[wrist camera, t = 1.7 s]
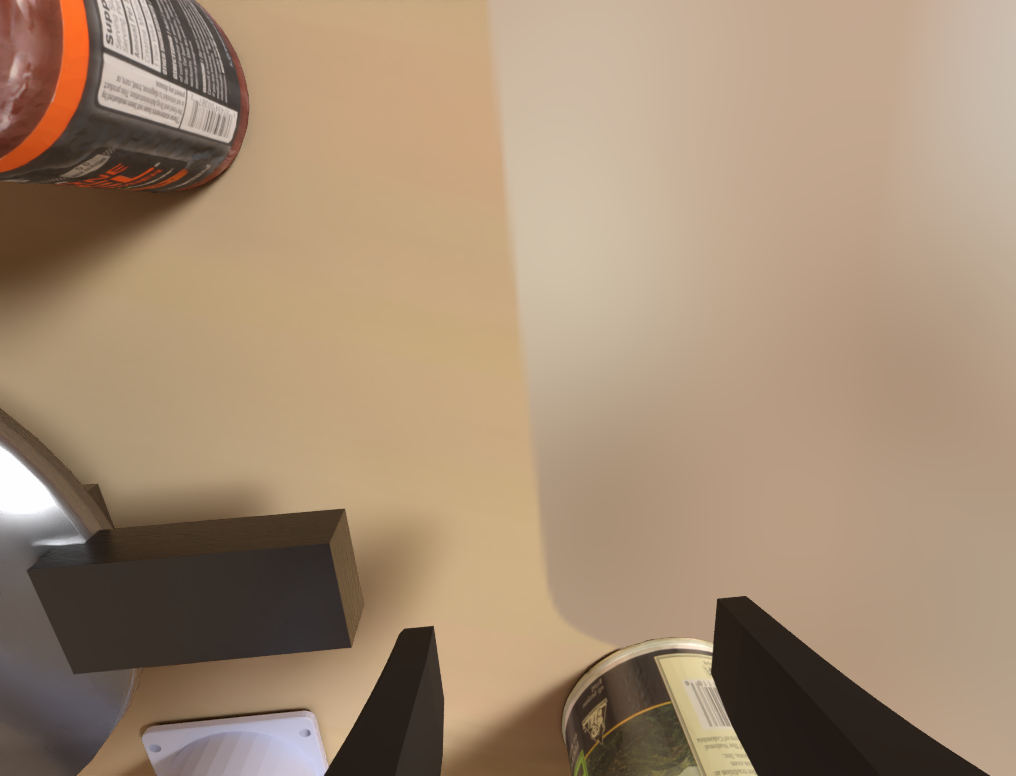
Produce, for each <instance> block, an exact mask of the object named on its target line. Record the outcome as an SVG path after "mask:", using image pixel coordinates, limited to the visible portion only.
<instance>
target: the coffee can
mask: <svg viewBox="0 0 1016 776" xmlns="http://www.w3.org/2000/svg"><path fill="white" fill-rule="evenodd" d="M712 653H713V643H711V642H708V641H704V640H700V639H694V638H684V637H670V638H661V639H651V640H647V641H645V642H642V643H638V644H634V645H631V646H628V647H626V648H624V649H621V650H619V651H616V652H615V653H613V654H611V655H609V656H608V657H606V658H604V659H603V660H602V661H600V662H599V663H597V664H596V665H595V666H594V667H592V668H591V669H590V670H589V671H588V672H587V673H586V674H585V675H583V676H582V678H581V679H580V680H579V681H578V682H577V684H576V686H575V687H574V688H573V690H572V692H571V693H570V695H569V697H568V699H567V702H566V705H565V707H564V712H563V717H562V735H563V738H564V742H565V745H566V747H567V751H568V757H569V763H570V769H571V775H572V776H757V774H756V772H755V770H754V768H753V766H752V764H751V762H750V760H749V758H748V756H747V754H746V753H745V751H744V749H743V747H742V745H741V743H740V741H739V739H738V737H737V735H736V733H735V731H734V729H733V727H732V725H731V723H730V720H729V718H728V715H727V713H726V711H725V708H724V706H723V703H722V701H721V698H720V696H719V693H718V690H717V688H716V685H715V683H714V680H713V677H712V675H711V664H712Z"/></svg>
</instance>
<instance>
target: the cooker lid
mask: <svg viewBox="0 0 1016 776" xmlns="http://www.w3.org/2000/svg"><path fill="white" fill-rule="evenodd" d="M363 606H364V603H363V598H362V593H361V588H360V583H359V578H358V573H357V568H356V562H355V557H354V552H353V547H352V542H351V537H350V532H349V527H348V522H347V516H346V511H345V509H335V510H324V511H312V512H301V513H289V514H278V515H266V516H255V517H243V518H232V519H220V520H209V521H198V522H186V523H175V524H163V525H152V526H140V527H129V528H117V529H113V528H112V527H111V525H110V524H109V522H108V520H107V519H106V517H105V516H104V514H103V512H102V511H101V509H100V508H99V506H98V505H97V503H96V502H95V501H94V500H93V498H92V497H91V496H90V495H89V493H88V492H87V491H86V490H85V488H84V487H83V486H82V485H81V484H80V482H79V481H78V480H77V479H76V477H75V476H74V475H73V474H72V472H71V471H70V470H69V469H68V468H67V467H66V466H65V465H64V464H63V463H62V462H61V461H60V460H59V459H58V458H57V457H56V456H55V455H54V454H53V453H52V452H51V451H50V450H49V449H48V448H47V447H46V446H45V445H44V444H43V443H42V442H41V441H39V440H38V439H37V438H36V437H35V436H34V435H32V434H31V433H30V432H29V431H28V430H26V429H25V428H24V427H23V426H21V425H20V424H19V423H18V422H16V421H15V420H14V419H13V418H11V417H10V416H9V415H8V414H7V413H5V412H4V411H3V410H2V409H0V776H76V775H77V774H78V773H79V772H80V771H81V770H82V769H83V768H84V767H86V766H87V765H88V764H89V763H90V762H91V760H92V759H93V758H94V756H95V755H96V753H97V752H98V751H99V749H100V748H101V746H102V745H103V744H104V742H105V741H106V739H107V738H108V737H109V735H110V734H111V732H112V731H113V730H114V728H115V727H116V725H117V724H118V722H119V721H120V720H121V718H122V717H123V715H124V714H125V713H126V711H127V709H128V707H129V705H130V703H131V701H132V699H133V696H134V694H135V692H136V690H137V688H138V685H139V681H140V677H141V673H142V669H143V668H145V667H156V666H166V665H176V664H186V663H197V662H207V661H217V660H228V659H238V658H248V657H259V656H269V655H279V654H290V653H300V652H310V651H320V650H331V649H341V648H351V647H352V644H353V641H354V637H355V634H356V631H357V627H358V624H359V620H360V617H361V613H362V610H363Z"/></svg>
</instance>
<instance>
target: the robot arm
mask: <svg viewBox="0 0 1016 776" xmlns="http://www.w3.org/2000/svg"><path fill="white" fill-rule="evenodd" d="M711 675H712V677H713V680H714V683H715V685H716V688H717V690H718V693H719V696H720V698H721V701H722V703H723V706H724V708H725V711H726V713H727V715H728V718H729V720H730V723H731V725H732V727H733V729H734V731H735V733H736V735H737V737H738V739H739V741H740V743H741V745H742V747H743V749H744V751H745V753H746V754H747V756H748V758H749V760H750V762H751V764H752V766H753V768H754V770H755V772H756V774H757V776H990V775H988V774H987V773H985V772H983V771H982V770H980V769H978V768H977V767H976V766H974V765H973V764H971V763H969V762H968V761H966V760H965V759H963V758H962V757H960V756H958V755H957V754H956V753H954V752H952V751H951V750H949V749H948V748H946V747H945V746H943V745H942V744H940V743H939V742H937V741H936V740H934V739H932V738H931V737H930V736H928V735H927V734H925V733H924V732H922V731H921V730H919V729H918V728H916V727H915V726H913V725H912V724H911V723H909V722H908V721H906V720H905V719H904V718H902V717H901V716H899V715H898V714H897V713H895V712H894V711H892V710H891V709H890V708H888V707H887V706H885V705H884V704H882V703H881V702H880V701H878V700H877V699H876V698H874V697H873V696H872V695H870V694H869V693H867V692H866V691H865V690H863V689H862V688H861V687H860V686H858V685H857V684H855V683H854V682H853V681H852V680H850V679H849V678H848V677H846V676H845V675H844V674H842V673H841V672H840V671H839V670H837V669H836V668H835V667H833V666H832V665H831V664H829V663H828V662H827V661H826V660H824V659H823V658H822V657H820V656H819V655H818V654H817V653H816V652H814V651H813V650H812V649H811V648H809V647H808V646H807V645H806V644H804V643H803V642H802V641H801V640H799V639H798V638H797V637H796V636H794V635H793V634H792V633H791V632H790V631H788V630H787V629H786V628H785V627H783V626H782V625H781V624H780V623H778V622H777V621H776V620H775V619H774V618H772V617H771V616H770V615H769V614H767V613H766V612H765V611H764V610H762V609H761V608H760V607H759V606H758V605H756V604H755V603H754V602H753V601H751V600H750V599H749V598H748V597H746V596H741V597H731V598H721V599H717V609H716V620H715V631H714V642H713V653H712V664H711ZM443 724H444V695H443V688H442V681H441V674H440V667H439V660H438V653H437V646H436V639H435V632H434V626H429V627H419V628H408V629H404V630H403V631H402V632H401V633H400V634H399V636H398V638H397V641H396V643H395V646H394V648H393V650H392V652H391V654H390V657H389V659H388V661H387V663H386V665H385V667H384V669H383V671H382V673H381V675H380V677H379V679H378V681H377V683H376V685H375V687H374V689H373V691H372V693H371V695H370V697H369V698H368V700H367V702H366V704H365V706H364V708H363V709H362V711H361V713H360V715H359V717H358V719H357V720H356V722H355V724H354V726H353V728H352V729H351V731H350V733H349V735H348V736H347V738H346V740H345V741H344V743H343V745H342V746H341V748H340V750H339V751H338V753H337V755H336V756H335V758H334V759H333V761H332V763H331V764H330V766H328V763H327V759H326V755H325V751H324V747H323V743H322V739H321V735H320V732H319V728H318V724H317V720H316V717H315V715H314V714H313V713H312V712H310V711H295V712H285V713H275V714H266V715H256V716H246V717H236V718H226V719H216V720H206V721H196V722H186V723H177V724H167V725H157V726H151V727H149V728H147V729H146V731H145V732H144V734H143V736H142V738H141V739H142V743H143V745H144V747H145V750H146V752H147V755H148V757H149V759H150V762H151V764H152V766H153V769H154V771H155V774H156V776H440V773H441V765H442V755H443Z"/></svg>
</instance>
